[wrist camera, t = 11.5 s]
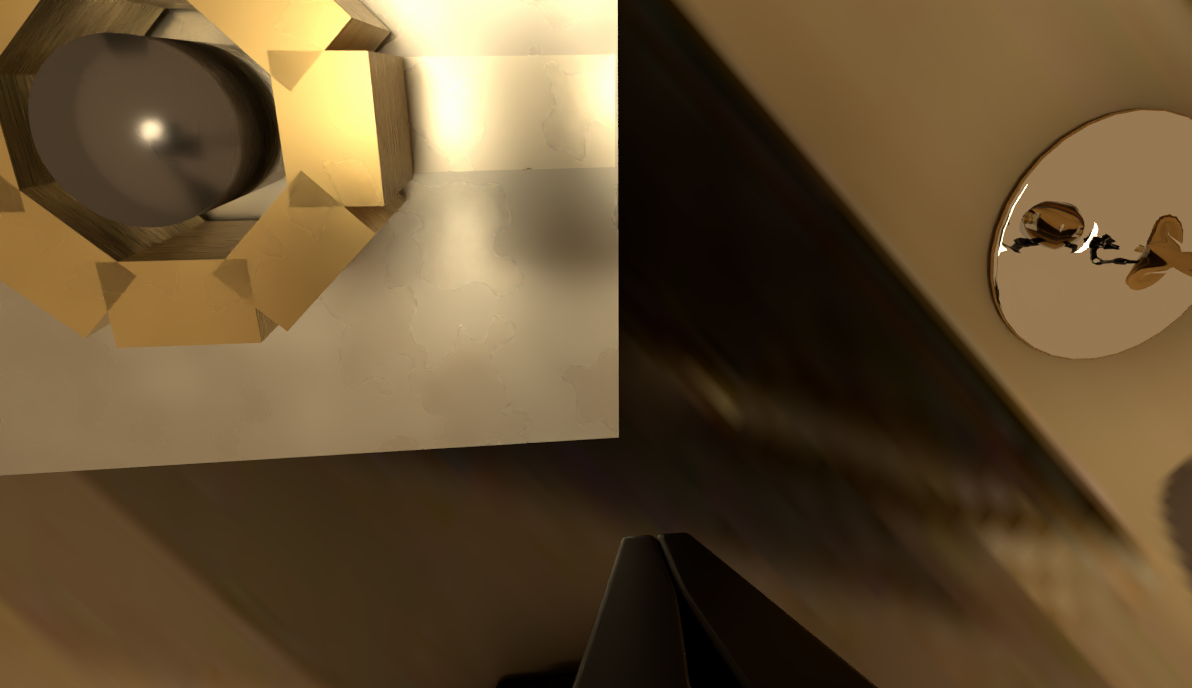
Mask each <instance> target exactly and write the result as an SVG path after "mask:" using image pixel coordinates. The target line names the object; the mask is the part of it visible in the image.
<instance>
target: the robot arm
mask: <svg viewBox="0 0 1192 688" xmlns="http://www.w3.org/2000/svg"><path fill="white" fill-rule="evenodd" d="M496 688H878V687H876V686H875V685H874V684H873V683H872V682H870V681H869V680H868V679H867V678H865V677H864V676H863V675H862V674H860V673H859V672H858V671H857V670H856V669H854V668H853V667H852V666H851V665H849V664H848V663H847V662H846V661H845V660H843V659H842V658H841V657H840V656H838V655H837V654H836V653H835V652H833V651H832V650H831V649H830V648H829V647H827V646H826V645H825V644H824V643H822V642H821V641H820V640H819V639H818V638H816V637H815V636H814V635H813V634H811V633H810V632H809V631H808V630H806V629H805V628H804V627H803V626H802V625H800V624H799V623H798V622H797V621H795V620H794V619H793V618H792V617H791V616H789V615H788V614H787V613H786V612H784V611H783V610H782V609H781V608H780V607H778V606H777V605H776V604H775V603H773V602H772V601H771V600H770V599H768V598H767V597H766V596H765V595H764V594H762V593H761V592H760V591H759V590H757V589H756V588H755V587H754V586H753V585H751V584H750V583H749V582H748V581H746V580H745V579H744V578H743V577H741V576H740V575H739V574H738V573H737V572H735V571H734V570H733V569H732V568H730V567H729V566H728V565H727V564H726V563H724V562H723V561H722V560H721V559H719V558H718V557H717V556H716V555H714V554H713V553H712V552H711V551H710V550H708V549H707V548H706V547H705V546H703V545H702V544H701V543H700V542H699V541H697V540H696V539H695V538H694V537H692V536H691V535H690V534H688V533H671V534H660V535H658V536H657V537H656V539H655V538H654V537H653V536H651V535H644V536H630V537H624V538H623V539H622V541H621V543H620V546H619V549H618V552H617V555H616V558H615V561H614V564H613V567H612V570H611V573H610V576H609V579H608V582H607V585H606V588H605V591H604V594H603V597H602V600H601V603H600V606H599V609H598V612H597V615H596V618H595V621H594V624H593V627H592V630H591V633H590V636H589V639H588V642H587V645H586V648H585V651H584V654H583V657H582V660H581V663H580V666H579V669H578V672H577V673H571V674H560V675H549V676H538V677H527V678H516V679H508V680H503V681H502V682H500V683H499V684H498V685H497V686H496Z"/></svg>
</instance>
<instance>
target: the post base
mask: <svg viewBox="0 0 1192 688" xmlns="http://www.w3.org/2000/svg"><path fill="white" fill-rule="evenodd" d="M359 1H360V2H361V3H362V4H363V5H364V6H365V7H366V8H367V9H368V10H369V11H370V12H371V13H372V14H373V15H374V16H375V17H376V18H377V19H378V20H379V21H380V22H381V23H382V24H383V25H384V26H385V27H386V28H388V29H389V30H390V31H391V32H390V33H389V34H388V35H387V37H386V38H385V39H384V40H383V41H382V43H381V44H380V45H379V46H378V47H377V48H376V50H375V51H374V52H378V53H383V54H389V55H395V56H400V57H403V66H404V77H405V88H406V99H407V110H408V121H409V132H410V143H411V155H412V166H413V177H414V178H413V179H412V180H411V181H410V182H409V183H408V184H407V185H406V186H405V187H404V188H402V189H401V190H400V191H399V192H398V193H399V194H400V195H401V196H403V197H404V198H405V199H406V201H405V202H404V203H403V205H402V206H401V207H400V208H399V209H398V210H397V211H396V212H395V213H394V215H393V216H392V217H391V218H390V219H389V220H388V221H387V222H386V223H385V224H384V226H383V227H382V228H381V229H380V230H379V231H378V232H377V233H376V234H375V236H374V237H373V238H372V239H371V240H370V241H369V242H368V243H367V244H366V246H365V247H364V248H363V249H362V250H361V251H360V252H359V253H358V254H357V255H356V257H355V258H354V259H353V260H352V261H351V262H350V263H349V264H348V265H347V267H346V268H345V269H344V270H343V271H342V272H341V273H340V274H339V275H338V277H337V278H336V279H335V280H334V281H333V282H332V283H331V284H330V285H329V286H328V288H327V289H326V290H325V291H324V292H323V293H322V294H321V295H320V296H319V297H318V299H317V300H316V301H315V302H314V303H313V304H312V305H311V306H310V307H309V308H308V309H307V311H306V312H305V313H304V314H303V315H302V316H301V317H300V318H299V319H298V320H297V322H296V323H295V324H294V325H293V326H292V327H291V328H290V329H289V330H288V331H286V330H284V329H283V328H282V327H280V326H279V325H278V326H277V327H276V328H275V329H274V330H273V331H272V332H271V333H270V334H269V335H268V337H267V338H266V339H265V340H264V341H263V342H262V343H243V344H214V345H185V346H157V347H128V348H117V347H116V343H115V339H114V335H113V331H112V327H111V323H110V324H108V325H107V326H105V327H103V328H102V329H100V330H98V331H97V332H95V333H93V334H92V335H90V336H88V337H87V338H84V337H82V336H81V335H79V334H78V333H76V332H75V331H73V330H72V329H71V328H69V327H68V326H66V325H65V324H63V323H62V322H60V321H59V320H57V319H56V318H54V317H53V316H52V315H50V314H49V313H47V312H46V311H44V310H43V309H41V308H40V307H38V306H37V305H35V304H34V303H33V302H31V301H30V300H28V299H27V298H25V297H24V296H22V295H21V294H19V293H18V292H16V291H15V290H14V289H12V288H11V287H9V286H8V285H6V284H5V283H3V282H2V281H0V475H14V474H30V473H47V472H63V471H79V470H96V469H112V468H128V467H144V466H161V465H177V464H193V463H210V462H226V461H242V460H258V459H275V458H291V457H307V456H324V455H340V454H356V453H372V452H389V451H405V450H421V449H437V448H454V447H470V446H486V445H503V444H519V443H535V442H551V441H568V440H584V439H600V438H617V437H619V340H618V0H359ZM28 115H29V125H30V130H31V134H32V138H33V141H34V144H35V147H36V149H37V151H38V153H39V156H40V158H41V160H42V162H43V163H44V165H45V166H46V168H47V169H48V171H49V173H50V174H51V175H52V176H53V178H54V179H55V180H56V181H57V183H58V184H59V185H60V186H61V187H62V188H63V189H64V190H65V191H66V192H67V193H68V194H69V195H70V196H71V197H73V198H74V199H75V200H76V201H78V202H79V203H80V204H82V205H83V206H85V207H86V208H88V209H89V210H91V211H93V212H94V213H96V214H98V215H100V216H102V217H104V218H107V219H110V220H112V221H115V222H118V223H121V224H125V225H129V226H136V227H147V228H156V227H166V226H171V225H175V224H179V223H181V222H184V221H187V220H189V219H191V218H194V217H196V216H200V217H201V218H202V219H204V220H205V221H246V220H259V219H260V218H261V216H262V215H263V214H264V213H265V212H266V211H267V209H268V208H269V207H270V206H271V205H272V204H273V202H274V201H275V200H276V199H277V198H278V196H279V195H280V194H281V193H282V192H283V191H284V189H285V188H286V187H287V181H286V174H285V168H284V161H283V154H282V148H281V141H280V135H279V128H278V122H277V115H276V109H275V102H274V95H273V89H272V82H271V76H270V74H269V73H268V72H267V71H266V70H264V69H263V68H262V67H261V66H260V65H259V64H258V63H257V62H255V61H254V60H253V59H252V58H251V57H250V56H249V55H248V54H247V53H245V52H244V51H243V50H242V49H241V48H240V47H239V46H238V45H236V44H235V43H234V42H233V41H232V40H231V39H230V38H229V37H227V36H226V35H225V34H224V33H223V32H222V31H221V30H220V29H218V28H217V27H216V26H215V25H214V24H213V23H212V22H211V21H209V20H208V19H207V18H206V17H205V16H204V15H203V14H202V13H200V12H199V11H198V10H197V9H164V10H163V11H162V12H161V14H160V15H159V16H158V18H157V19H156V20H155V22H154V23H153V24H152V26H151V27H150V28H149V29H148V31H147V32H146V33H145V35H144V36H142V35H133V34H124V33H109V32H107V33H94V34H90V35H85V36H81V37H79V38H76V39H74V40H71V41H69V42H67V43H66V44H64V45H62V46H61V47H59V48H58V49H57V50H55V51H54V52H53V53H52V54H51V55H50V56H49V57H48V58H47V59H46V60H45V61H44V63H43V64H42V65H41V67H40V69H39V70H38V72H37V74H36V76H35V78H34V81H33V84H32V86H31V91H30V96H29V105H28Z"/></svg>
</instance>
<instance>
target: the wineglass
mask: <svg viewBox="0 0 1192 688" xmlns="http://www.w3.org/2000/svg"><path fill="white" fill-rule="evenodd" d="M990 280H991V286H992V291H993V297H994V300H995V303H996V305H997V308H998V310H999V312H1000V315H1001V317H1002V319H1003V320H1004V322H1005V323H1006V324H1007V326H1008V327H1009V328H1010V330H1011V331H1012V332H1013V334H1014V335H1015V336H1017V337H1018V338H1019V339H1020V340H1022V341H1023V342H1024V343H1025V344H1027V345H1028V346H1029V347H1031V348H1033V349H1036V350H1038V351H1040V352H1042V353H1044V354H1047V355H1049V356H1054V357H1059V358H1065V359H1070V360H1071V359H1095V358H1100V357H1105V356H1110V355H1115V354H1117V353H1120V352H1123V351H1125V350H1128V349H1130V348H1133V347H1136V346H1138V345H1140V344H1141V343H1143V342H1145V341H1147V340H1148V339H1150V338H1152V337H1154V336H1155V335H1157V334H1159V333H1160V332H1161V331H1163V330H1164V329H1165V328H1166V327H1168V326H1169V325H1170V324H1172V323H1173V322H1174V321H1175V320H1177V319H1178V318H1179V317H1180V316H1181V315H1182V314H1183V313H1184V312H1185V311H1186V310H1187V309H1188V308H1189V307H1190V306H1191V305H1192V119H1191V118H1190V117H1188V116H1186V115H1184V114H1180V113H1176V112H1172V111H1169V110H1165V109H1148V108H1136V109H1131V110H1126V111H1121V112H1116V113H1111V114H1109V115H1106V116H1104V117H1101V118H1099V119H1097V120H1094V121H1092V122H1089V123H1087V124H1085V125H1083V126H1082V127H1080V128H1078V129H1077V130H1075V131H1073V132H1072V133H1070V134H1069V135H1067V136H1065V137H1064V138H1062V139H1061V140H1060V141H1058V142H1057V143H1056V144H1055V145H1054V146H1053V147H1052V148H1050V149H1049V150H1048V151H1047V152H1046V153H1045V154H1043V155H1042V156H1041V157H1040V158H1039V159H1038V160H1037V162H1036V163H1035V164H1034V165H1033V166H1032V167H1031V169H1030V170H1029V171H1028V172H1027V173H1026V175H1025V176H1024V177H1023V178H1022V179H1021V181H1020V182H1019V184H1018V186H1017V187H1016V189H1015V191H1014V192H1013V194H1012V195H1011V197H1010V199H1009V200H1008V202H1007V204H1006V206H1005V209H1004V211H1003V213H1002V216H1001V218H1000V221H999V223H998V226H997V228H996V232H995V237H994V241H993V246H992V250H991V261H990Z"/></svg>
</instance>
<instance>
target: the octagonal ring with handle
mask: <svg viewBox="0 0 1192 688" xmlns="http://www.w3.org/2000/svg"><path fill="white" fill-rule="evenodd" d="M164 9H197V10H198V11H199V12H200V13H202V14H203V15H204V16H205V17H206V18H207V19H208V20H209V21H211V22H212V23H213V24H214V25H215V26H216V27H217V28H218V29H220V30H221V31H222V32H223V33H224V34H225V35H226V36H227V37H229V38H230V39H231V40H232V41H233V42H234V43H235V44H236V45H238V46H239V47H240V48H241V49H242V50H243V51H244V52H245V53H247V54H248V55H249V56H250V57H251V58H252V59H253V60H254V61H255V62H257V63H258V64H259V65H260V66H261V67H262V68H263V69H264V70H266V71H267V72H268V73H269V74H270V76H271V82H272V89H273V95H274V102H275V109H276V115H277V122H278V128H279V135H280V141H281V148H282V154H283V161H284V168H285V174H286V181H287V187H286V188H285V189H284V191H283V192H282V193H281V194H280V195H279V196H278V198H277V199H276V200H275V201H274V202H273V204H272V205H271V206H270V207H269V208H268V209H267V211H266V212H265V213H264V214H263V215H262V216H261V218H260V219H259V220H246V221H205V220H204V219H202V218H201V217H200V216H196V217H194V218H191V219H189V220H187V221H184V222H181V223H179V224H175V225H171V226H166V227H156V228H147V227H136V226H129V225H125V224H121V223H118V222H115V221H112V220H110V219H107V218H104V217H102V216H100V215H98V214H96V213H94V212H93V211H91V210H89V209H88V208H86V207H85V206H83V205H82V204H80V203H79V202H78V201H76V200H75V199H74V198H73V197H71V196H70V195H69V194H68V193H67V192H66V191H65V190H64V189H63V188H62V187H61V186H60V185H59V184H58V183H57V181H56V180H55V179H54V178H53V176H52V175H51V174H50V173H49V171H48V169H47V168H46V166H45V165H44V163H43V162H42V160H41V158H40V156H39V153H38V151H37V149H36V147H35V144H34V141H33V138H32V134H31V130H30V125H29V115H28V105H29V96H30V91H31V86H32V84H33V81H34V78H35V76H36V74H37V72H38V70H39V69H40V67H41V65H42V64H43V63H44V61H45V60H46V59H47V58H48V57H49V56H50V55H51V54H52V53H53V52H54V51H55V50H57V49H58V48H59V47H61V46H62V45H64V44H66V43H67V42H69V41H71V40H74V39H76V38H79V37H81V36H85V35H90V34H94V33H107V32H109V33H124V34H133V35H142V36H144V35H145V33H146V32H147V31H148V29H149V28H150V27H151V26H152V24H153V23H154V22H155V20H156V19H157V18H158V16H159V15H160V14H161V12H162V11H163V10H164ZM390 32H391V31H390V30H389V29H388V28H386V27H385V26H384V25H383V24H382V23H381V22H380V21H379V20H378V19H377V18H376V17H375V16H374V15H373V14H372V13H371V12H370V11H369V10H368V9H367V8H366V7H365V6H364V5H363V4H362V3H361V2H360V1H359V0H0V281H2V282H3V283H5V284H6V285H8V286H9V287H11V288H12V289H14V290H15V291H16V292H18V293H19V294H21V295H22V296H24V297H25V298H27V299H28V300H30V301H31V302H33V303H34V304H35V305H37V306H38V307H40V308H41V309H43V310H44V311H46V312H47V313H49V314H50V315H52V316H53V317H54V318H56V319H57V320H59V321H60V322H62V323H63V324H65V325H66V326H68V327H69V328H71V329H72V330H73V331H75V332H76V333H78V334H79V335H81V336H82V337H84V338H87V337H88V336H90V335H92V334H93V333H95V332H97V331H98V330H100V329H102V328H103V327H105V326H107V325H108V324H110V323H111V327H112V331H113V335H114V339H115V343H116V347H117V348H128V347H157V346H185V345H214V344H243V343H262V342H263V341H264V340H265V339H266V338H267V337H268V335H269V334H270V333H271V332H272V331H273V330H274V329H275V328H276V327H277V326H278V325H279V326H280V327H282V328H283V329H284V330H286V331H288V330H289V329H290V328H291V327H292V326H293V325H294V324H295V323H296V322H297V320H298V319H299V318H300V317H301V316H302V315H303V314H304V313H305V312H306V311H307V309H308V308H309V307H310V306H311V305H312V304H313V303H314V302H315V301H316V300H317V299H318V297H319V296H320V295H321V294H322V293H323V292H324V291H325V290H326V289H327V288H328V286H329V285H330V284H331V283H332V282H333V281H334V280H335V279H336V278H337V277H338V275H339V274H340V273H341V272H342V271H343V270H344V269H345V268H346V267H347V265H348V264H349V263H350V262H351V261H352V260H353V259H354V258H355V257H356V255H357V254H358V253H359V252H360V251H361V250H362V249H363V248H364V247H365V246H366V244H367V243H368V242H369V241H370V240H371V239H372V238H373V237H374V236H375V234H376V233H377V232H378V231H379V230H380V229H381V228H382V227H383V226H384V224H385V223H386V222H387V221H388V220H389V219H390V218H391V217H392V216H393V215H394V213H395V212H396V211H397V210H398V209H399V208H400V207H401V206H402V205H403V203H404V202H405V201H406V199H405V198H404V197H403V196H401V195H400V194H399V193H398V192H399V191H400V190H401V189H402V188H404V187H405V186H406V185H407V184H408V183H409V182H410V181H411V180H412V179H413V178H414V177H413V166H412V155H411V143H410V132H409V121H408V110H407V99H406V88H405V77H404V66H403V57H400V56H395V55H389V54H383V53H378V52H374V51H375V50H376V48H377V47H378V46H379V45H380V44H381V43H382V41H383V40H384V39H385V38H386V37H387V35H388V34H389V33H390Z"/></svg>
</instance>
